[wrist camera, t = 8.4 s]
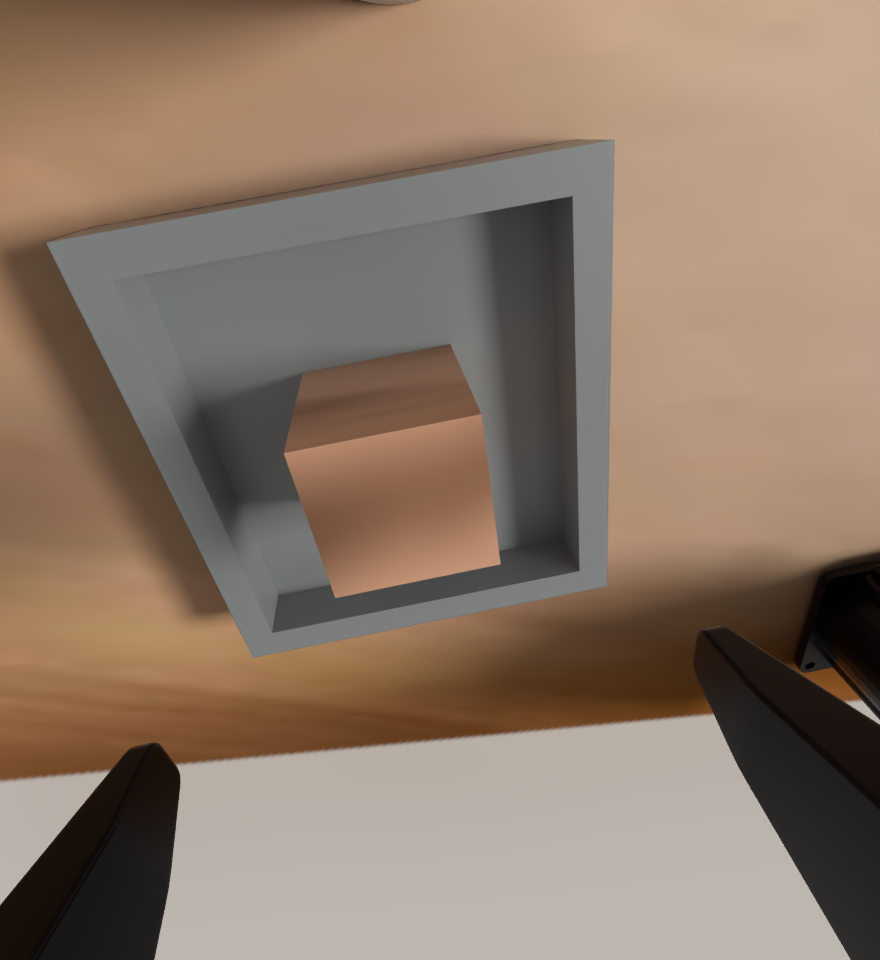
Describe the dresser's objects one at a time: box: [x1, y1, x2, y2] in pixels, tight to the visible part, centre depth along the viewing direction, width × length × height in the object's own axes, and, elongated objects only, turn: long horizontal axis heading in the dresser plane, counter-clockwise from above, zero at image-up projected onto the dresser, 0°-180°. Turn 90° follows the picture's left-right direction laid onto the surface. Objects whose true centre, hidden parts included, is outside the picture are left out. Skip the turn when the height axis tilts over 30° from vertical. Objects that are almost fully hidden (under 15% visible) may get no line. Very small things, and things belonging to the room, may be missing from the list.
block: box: [284, 344, 501, 598], centre depth 16 cm, size 4×4×5 cm
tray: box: [46, 139, 614, 658], centre depth 17 cm, size 14×13×2 cm
